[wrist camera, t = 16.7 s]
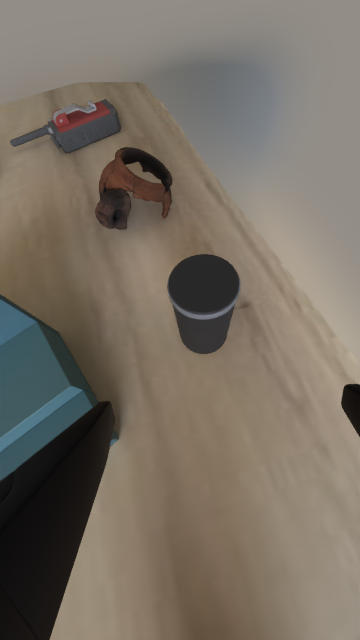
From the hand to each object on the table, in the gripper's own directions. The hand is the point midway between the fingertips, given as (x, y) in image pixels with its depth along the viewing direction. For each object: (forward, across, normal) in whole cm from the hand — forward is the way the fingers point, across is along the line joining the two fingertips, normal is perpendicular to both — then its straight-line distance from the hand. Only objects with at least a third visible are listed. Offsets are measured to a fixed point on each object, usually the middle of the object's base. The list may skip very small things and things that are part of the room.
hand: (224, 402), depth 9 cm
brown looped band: (+28, +8, -10) cm, 30 cm away
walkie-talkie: (+44, +20, -26) cm, 55 cm away
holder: (+14, 0, +3) cm, 15 cm away
